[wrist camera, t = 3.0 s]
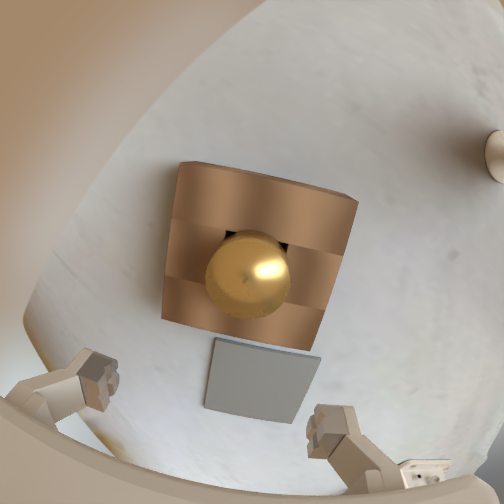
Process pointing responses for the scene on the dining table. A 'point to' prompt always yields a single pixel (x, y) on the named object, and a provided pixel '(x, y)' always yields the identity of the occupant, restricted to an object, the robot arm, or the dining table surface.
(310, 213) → the walnut block
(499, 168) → the beer glass
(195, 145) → the dining table surface
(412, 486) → the robot arm
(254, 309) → the brass knob
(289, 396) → the rubber mat
